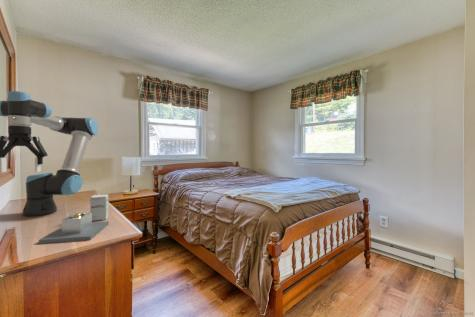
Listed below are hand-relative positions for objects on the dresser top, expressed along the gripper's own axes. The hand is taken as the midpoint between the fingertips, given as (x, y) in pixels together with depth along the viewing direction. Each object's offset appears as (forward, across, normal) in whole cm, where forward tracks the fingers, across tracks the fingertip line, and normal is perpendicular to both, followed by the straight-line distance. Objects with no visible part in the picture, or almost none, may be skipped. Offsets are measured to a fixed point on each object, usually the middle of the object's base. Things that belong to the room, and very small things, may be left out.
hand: (20, 171), depth 101 cm
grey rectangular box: (+25, +28, -11) cm, 39 cm away
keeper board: (+27, +28, -11) cm, 40 cm away
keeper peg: (+25, +28, -11) cm, 39 cm away
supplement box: (+27, +29, +10) cm, 41 cm away
